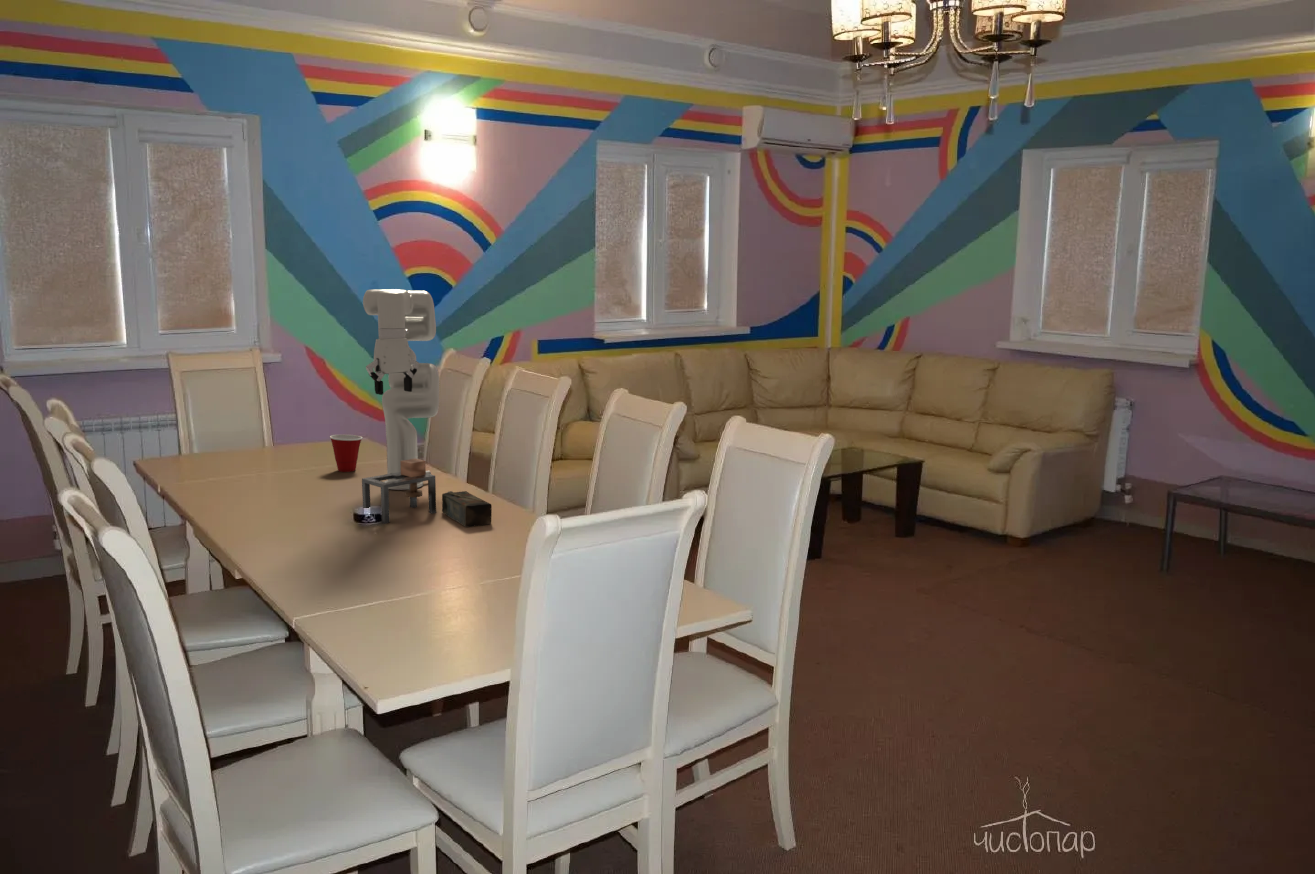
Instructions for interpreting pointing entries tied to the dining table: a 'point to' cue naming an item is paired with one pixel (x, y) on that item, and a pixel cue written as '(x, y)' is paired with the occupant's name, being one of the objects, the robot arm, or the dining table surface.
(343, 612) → the dining table surface
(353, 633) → the dining table surface
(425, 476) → the keyhole rack
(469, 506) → the beverage carton
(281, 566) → the dining table surface
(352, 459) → the plastic cup
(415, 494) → the t peg
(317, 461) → the dining table surface
